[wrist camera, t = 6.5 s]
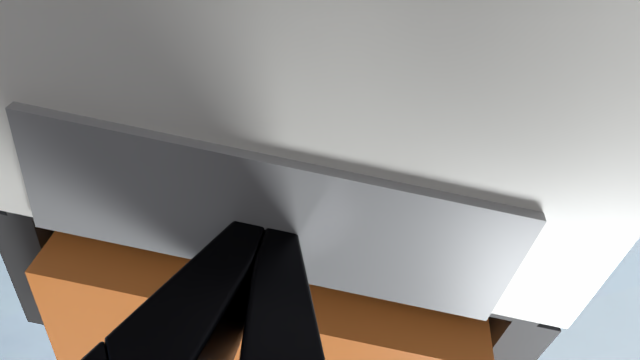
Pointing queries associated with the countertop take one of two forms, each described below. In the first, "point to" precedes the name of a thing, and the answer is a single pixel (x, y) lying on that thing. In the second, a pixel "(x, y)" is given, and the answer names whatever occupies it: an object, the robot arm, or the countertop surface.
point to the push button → (333, 323)
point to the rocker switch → (339, 138)
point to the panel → (27, 240)
